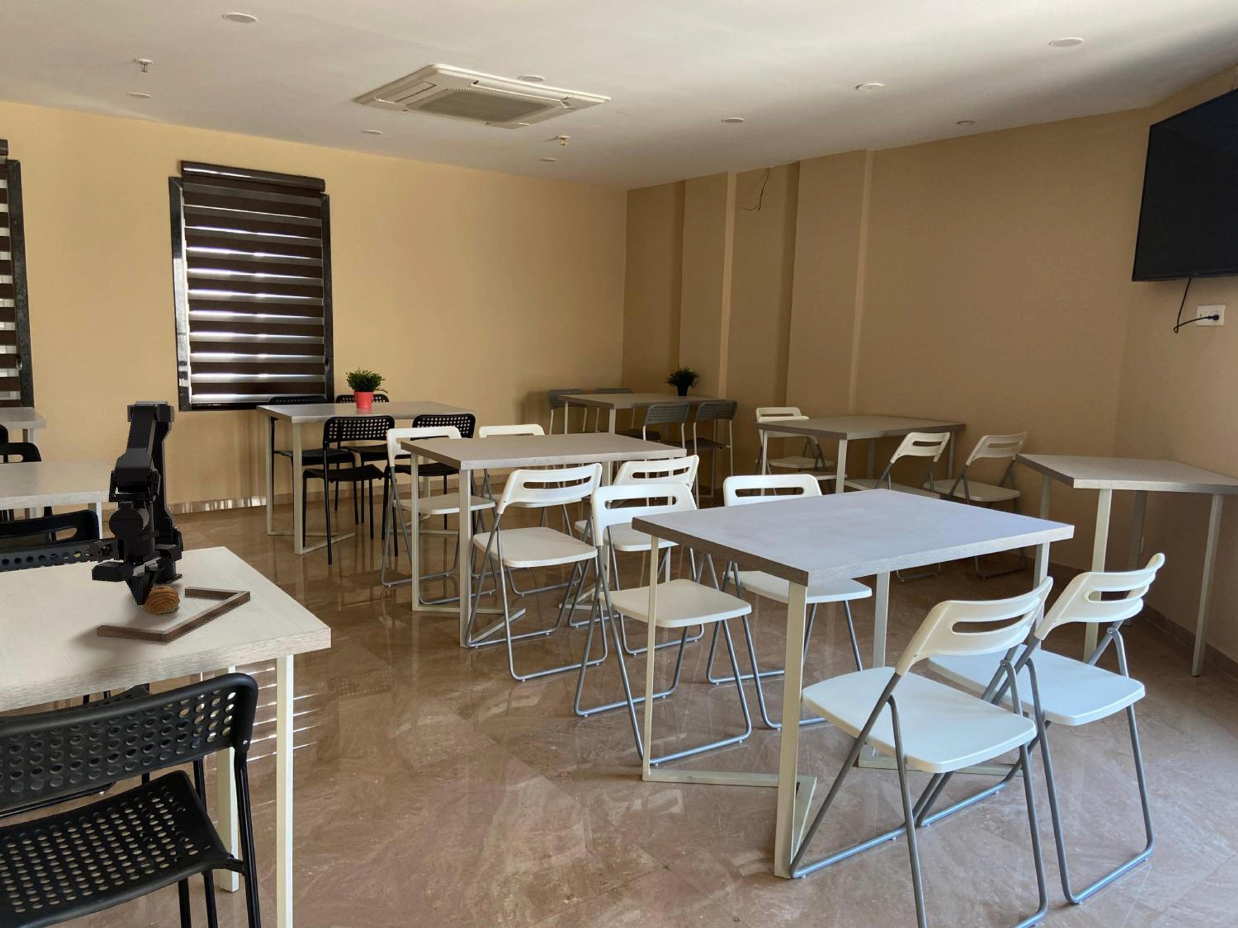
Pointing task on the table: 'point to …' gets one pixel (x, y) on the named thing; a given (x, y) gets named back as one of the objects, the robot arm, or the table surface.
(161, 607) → the pastry
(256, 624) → the table surface
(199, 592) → the walnut frame
